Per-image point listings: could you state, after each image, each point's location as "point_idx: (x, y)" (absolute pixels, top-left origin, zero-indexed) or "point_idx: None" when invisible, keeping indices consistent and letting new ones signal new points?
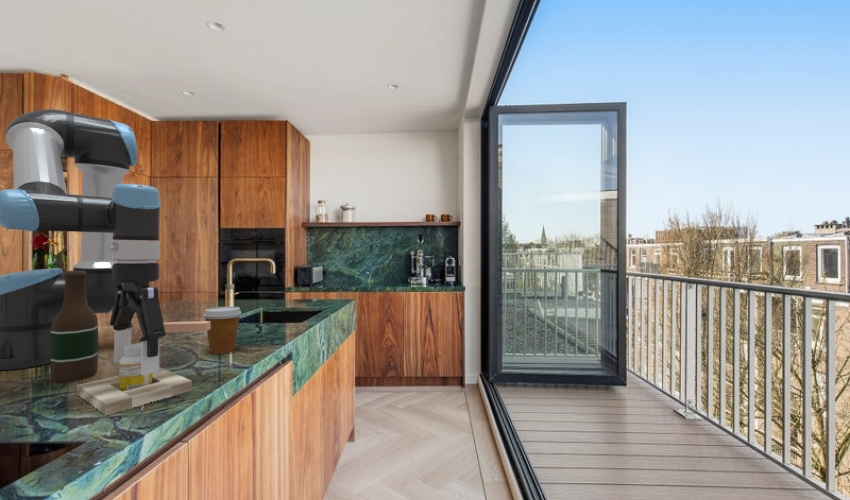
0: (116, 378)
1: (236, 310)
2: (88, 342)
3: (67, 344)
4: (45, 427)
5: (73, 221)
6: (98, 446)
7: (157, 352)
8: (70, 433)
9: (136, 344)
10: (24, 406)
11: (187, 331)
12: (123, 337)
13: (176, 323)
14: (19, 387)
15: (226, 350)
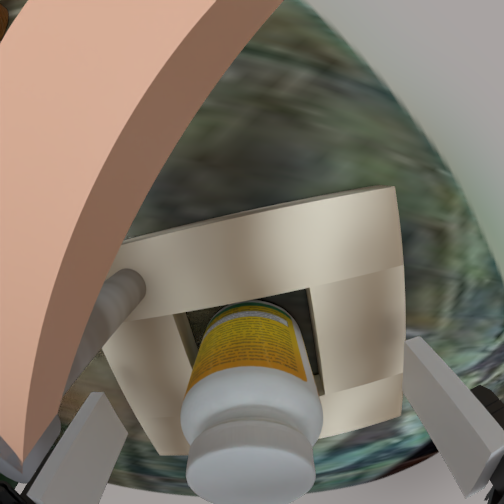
0: (149, 392)
1: None
2: None
3: (9, 483)
4: (351, 463)
5: None
6: (498, 384)
7: (492, 395)
8: (419, 430)
9: (217, 481)
10: (185, 485)
11: (173, 141)
12: (77, 492)
13: (3, 300)
14: None
15: (2, 22)
